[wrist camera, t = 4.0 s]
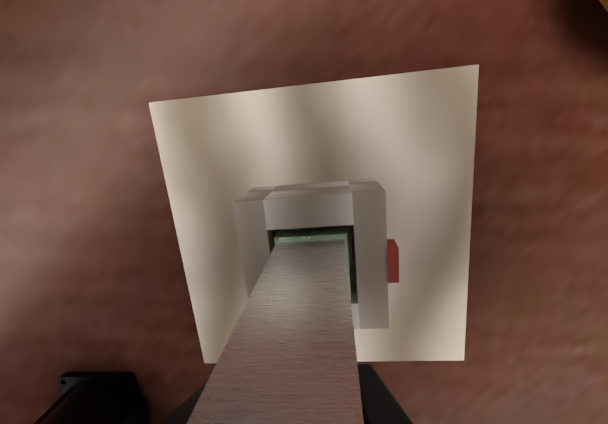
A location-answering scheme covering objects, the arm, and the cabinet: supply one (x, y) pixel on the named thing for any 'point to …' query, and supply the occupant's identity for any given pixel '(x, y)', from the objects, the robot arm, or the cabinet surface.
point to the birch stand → (331, 199)
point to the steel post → (291, 341)
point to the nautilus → (604, 4)
